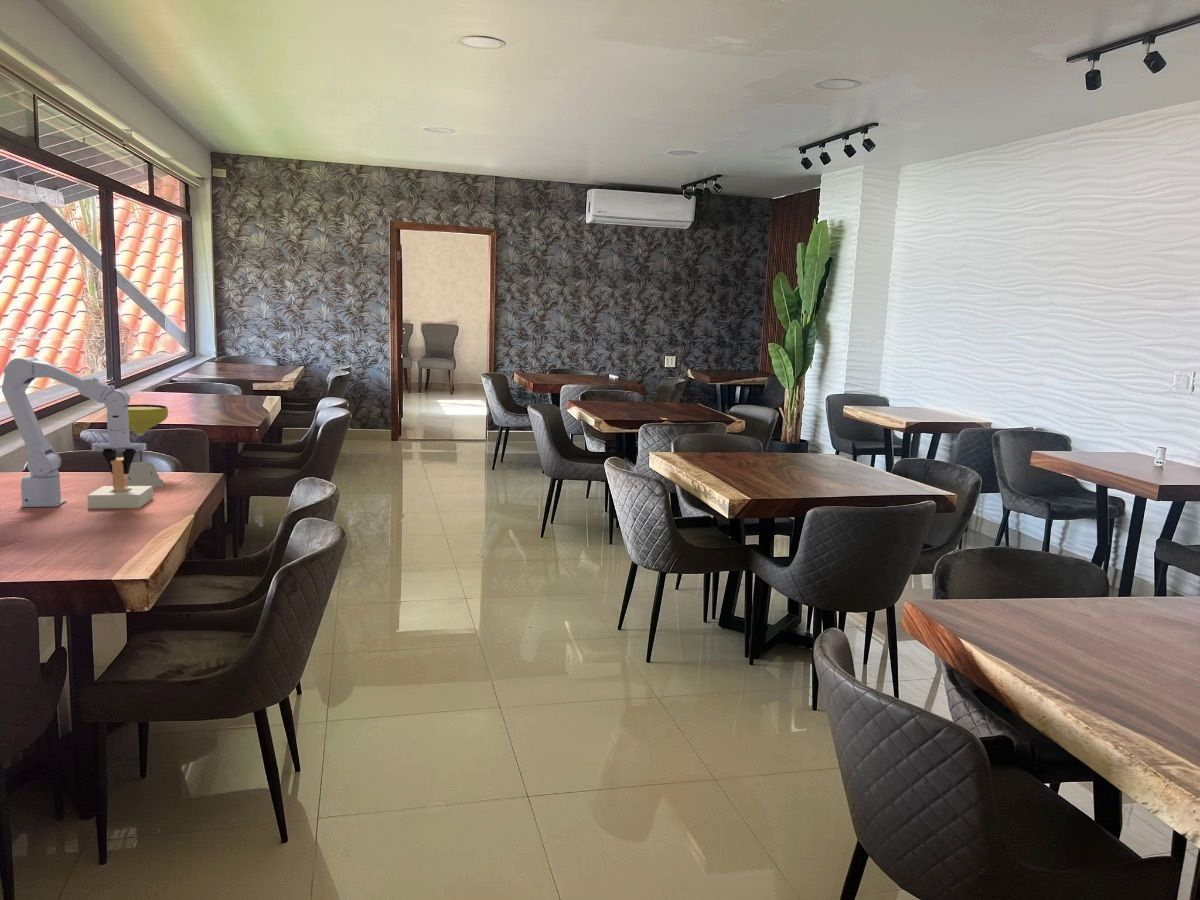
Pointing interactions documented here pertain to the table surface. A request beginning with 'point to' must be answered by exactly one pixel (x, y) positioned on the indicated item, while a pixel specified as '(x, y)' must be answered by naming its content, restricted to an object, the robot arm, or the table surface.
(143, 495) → the well block
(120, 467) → the t-shaped block
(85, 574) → the table surface
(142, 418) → the cocktail glass
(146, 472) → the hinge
